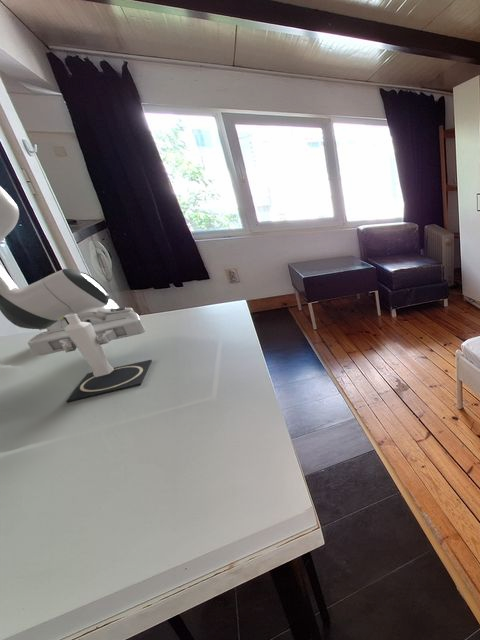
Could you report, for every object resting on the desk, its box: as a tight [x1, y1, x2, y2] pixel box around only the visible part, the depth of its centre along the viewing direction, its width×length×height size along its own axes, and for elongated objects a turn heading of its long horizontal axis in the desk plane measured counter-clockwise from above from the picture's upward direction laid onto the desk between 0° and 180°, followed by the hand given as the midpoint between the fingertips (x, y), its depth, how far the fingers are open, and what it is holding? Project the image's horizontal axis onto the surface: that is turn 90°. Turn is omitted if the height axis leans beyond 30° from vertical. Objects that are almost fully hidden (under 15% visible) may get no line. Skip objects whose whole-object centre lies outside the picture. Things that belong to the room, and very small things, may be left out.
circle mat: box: [66, 359, 153, 403], centre depth 88 cm, size 13×14×1 cm
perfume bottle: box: [64, 314, 115, 377], centre depth 85 cm, size 5×4×15 cm
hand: (86, 344), depth 84 cm, fingers closed on perfume bottle, 4 cm apart
